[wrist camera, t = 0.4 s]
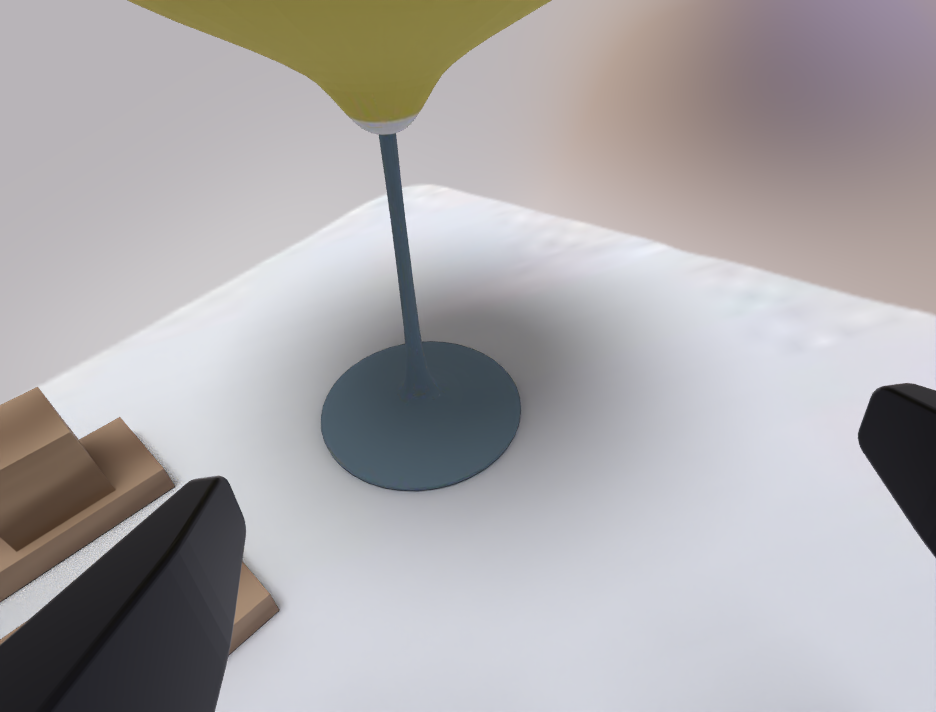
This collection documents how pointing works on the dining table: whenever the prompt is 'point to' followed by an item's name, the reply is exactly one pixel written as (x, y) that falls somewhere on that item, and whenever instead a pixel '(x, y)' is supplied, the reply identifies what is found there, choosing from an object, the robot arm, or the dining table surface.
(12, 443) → the walnut cube
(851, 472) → the dining table surface
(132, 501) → the broken strip
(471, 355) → the cocktail glass
